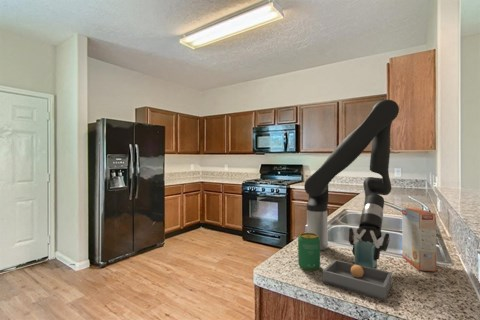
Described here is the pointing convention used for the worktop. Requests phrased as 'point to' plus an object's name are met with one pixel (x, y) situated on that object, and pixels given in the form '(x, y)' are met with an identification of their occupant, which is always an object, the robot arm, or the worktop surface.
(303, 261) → the beverage can
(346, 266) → the tray
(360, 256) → the teal open-sided box
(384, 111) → the robot arm
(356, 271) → the ball
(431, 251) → the cracker box
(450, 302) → the worktop surface
